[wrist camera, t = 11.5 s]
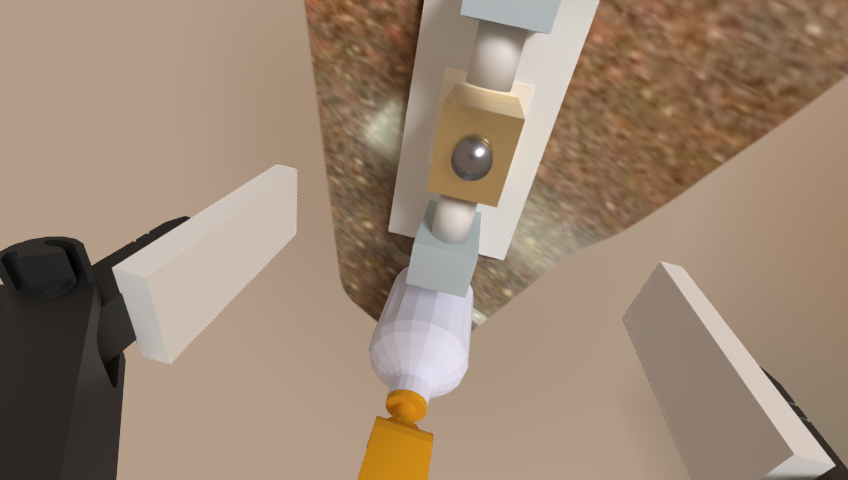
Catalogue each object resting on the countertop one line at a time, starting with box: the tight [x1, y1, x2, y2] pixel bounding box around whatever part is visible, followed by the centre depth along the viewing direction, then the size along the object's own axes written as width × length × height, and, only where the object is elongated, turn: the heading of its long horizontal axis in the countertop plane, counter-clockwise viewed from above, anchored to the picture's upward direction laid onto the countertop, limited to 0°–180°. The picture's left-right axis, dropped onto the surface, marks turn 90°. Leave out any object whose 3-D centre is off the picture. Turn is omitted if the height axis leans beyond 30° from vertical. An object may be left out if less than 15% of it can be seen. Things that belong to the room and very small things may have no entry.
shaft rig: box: [388, 0, 600, 298], centre depth 27 cm, size 24×12×9 cm, turn 169°
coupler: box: [426, 84, 525, 208], centre depth 27 cm, size 5×6×9 cm
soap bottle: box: [358, 266, 473, 480], centre depth 31 cm, size 9×9×25 cm
